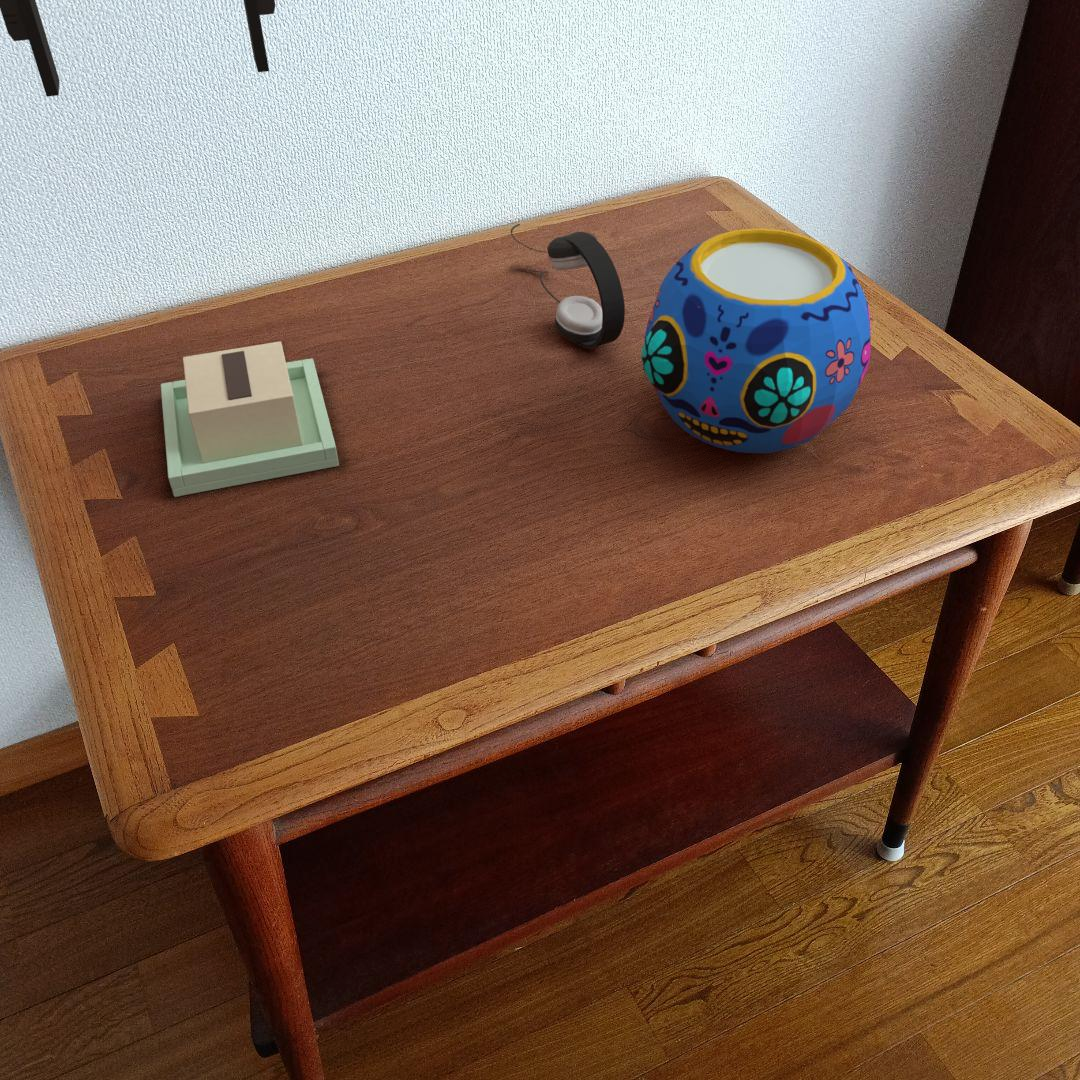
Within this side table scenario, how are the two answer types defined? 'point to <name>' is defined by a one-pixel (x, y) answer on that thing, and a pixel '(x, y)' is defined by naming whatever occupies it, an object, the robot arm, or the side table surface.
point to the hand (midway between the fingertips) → (159, 77)
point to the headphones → (580, 313)
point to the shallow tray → (199, 477)
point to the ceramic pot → (757, 340)
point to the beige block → (241, 402)
